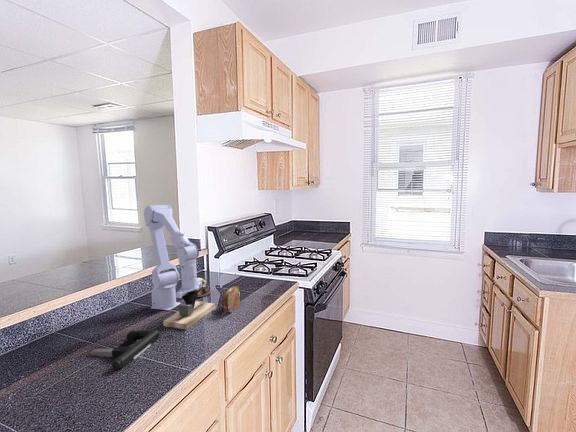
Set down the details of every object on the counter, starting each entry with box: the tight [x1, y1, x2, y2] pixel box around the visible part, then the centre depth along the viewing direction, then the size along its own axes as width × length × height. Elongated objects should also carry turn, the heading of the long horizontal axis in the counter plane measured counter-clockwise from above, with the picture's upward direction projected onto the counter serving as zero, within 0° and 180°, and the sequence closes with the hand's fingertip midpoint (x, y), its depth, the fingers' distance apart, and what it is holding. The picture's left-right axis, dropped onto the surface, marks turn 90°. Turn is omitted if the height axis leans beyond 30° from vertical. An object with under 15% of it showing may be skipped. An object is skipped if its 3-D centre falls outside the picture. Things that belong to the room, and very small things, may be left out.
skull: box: [197, 277, 211, 298], centre depth 148 cm, size 12×10×10 cm
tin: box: [222, 285, 242, 313], centre depth 130 cm, size 15×3×8 cm, turn 168°
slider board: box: [163, 301, 216, 330], centre depth 123 cm, size 10×20×2 cm, turn 163°
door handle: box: [90, 329, 161, 371], centre depth 98 cm, size 3×20×16 cm
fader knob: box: [178, 302, 193, 316], centre depth 119 cm, size 4×3×4 cm
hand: (190, 309), depth 122 cm, fingers closed
